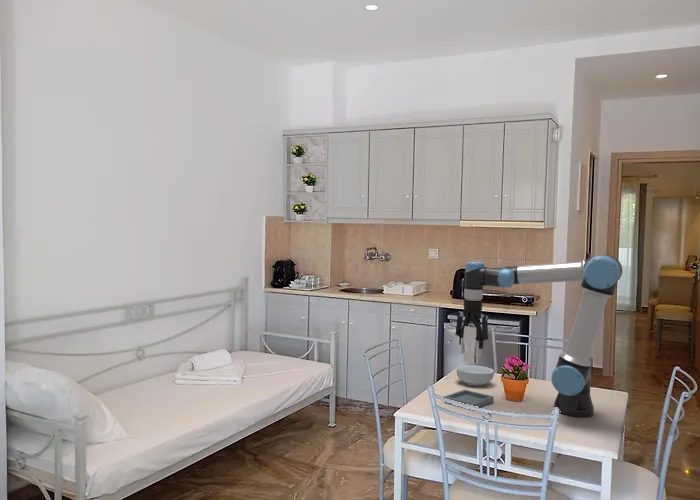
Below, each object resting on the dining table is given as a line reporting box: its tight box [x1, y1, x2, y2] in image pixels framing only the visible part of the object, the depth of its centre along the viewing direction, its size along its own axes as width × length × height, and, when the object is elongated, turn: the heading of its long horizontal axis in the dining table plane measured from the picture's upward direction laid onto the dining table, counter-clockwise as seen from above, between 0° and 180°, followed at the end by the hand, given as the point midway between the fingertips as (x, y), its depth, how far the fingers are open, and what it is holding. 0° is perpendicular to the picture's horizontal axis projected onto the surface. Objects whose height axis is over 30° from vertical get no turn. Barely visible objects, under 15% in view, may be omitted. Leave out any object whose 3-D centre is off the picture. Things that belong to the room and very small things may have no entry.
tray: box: [443, 389, 495, 408], centre depth 252 cm, size 14×16×2 cm
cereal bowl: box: [456, 364, 495, 387], centre depth 282 cm, size 17×17×7 cm
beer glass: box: [462, 324, 479, 365], centre depth 251 cm, size 7×7×15 cm
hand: (470, 354), depth 251 cm, fingers closed on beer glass, 7 cm apart
